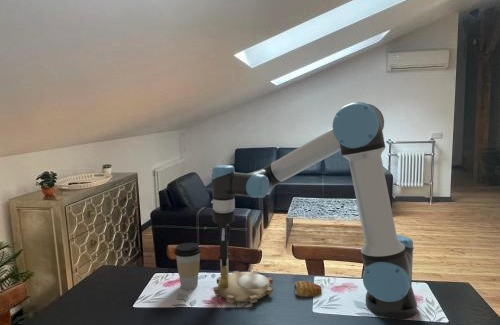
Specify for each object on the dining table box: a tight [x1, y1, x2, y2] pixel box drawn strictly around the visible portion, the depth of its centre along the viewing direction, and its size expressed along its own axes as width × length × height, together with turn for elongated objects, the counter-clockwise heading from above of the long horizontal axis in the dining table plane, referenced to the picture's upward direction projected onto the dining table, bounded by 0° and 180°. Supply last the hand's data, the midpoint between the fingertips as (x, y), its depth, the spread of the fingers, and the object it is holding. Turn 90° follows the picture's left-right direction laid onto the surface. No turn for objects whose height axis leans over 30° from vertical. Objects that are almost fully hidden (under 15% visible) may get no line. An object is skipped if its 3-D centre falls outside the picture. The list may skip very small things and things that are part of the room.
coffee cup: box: [173, 242, 202, 291], centre depth 126 cm, size 9×9×15 cm
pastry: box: [294, 280, 323, 298], centre depth 121 cm, size 9×7×4 cm
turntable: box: [213, 266, 274, 304], centre depth 122 cm, size 21×21×9 cm
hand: (224, 275), depth 123 cm, fingers closed
